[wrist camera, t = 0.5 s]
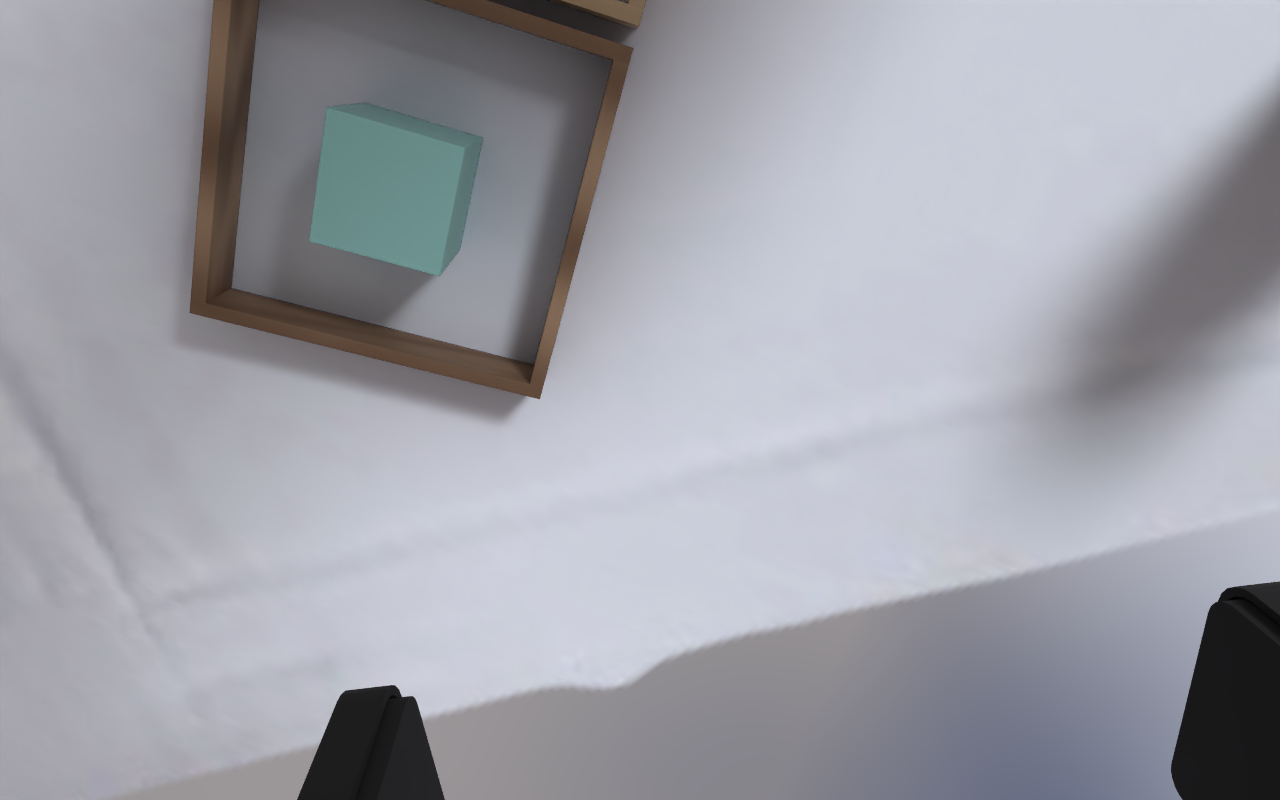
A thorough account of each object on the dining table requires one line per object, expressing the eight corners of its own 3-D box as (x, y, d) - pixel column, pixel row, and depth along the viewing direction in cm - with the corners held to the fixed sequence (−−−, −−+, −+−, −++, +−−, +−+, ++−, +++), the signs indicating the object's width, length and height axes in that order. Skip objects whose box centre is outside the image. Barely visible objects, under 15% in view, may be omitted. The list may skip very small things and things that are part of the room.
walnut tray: (249, -75, 29) (220, -88, 27) (630, 49, 32) (633, 47, 30) (216, 297, 35) (189, 312, 33) (543, 379, 37) (539, 399, 35)
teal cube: (365, 102, 32) (326, 107, 28) (483, 137, 33) (464, 148, 28) (348, 218, 34) (309, 241, 29) (460, 249, 35) (439, 276, 30)
